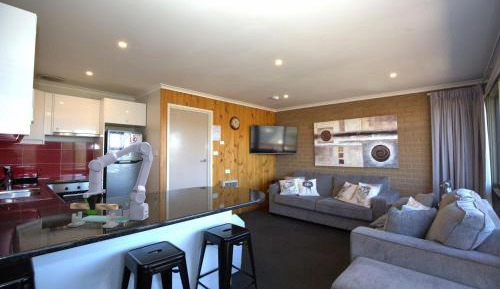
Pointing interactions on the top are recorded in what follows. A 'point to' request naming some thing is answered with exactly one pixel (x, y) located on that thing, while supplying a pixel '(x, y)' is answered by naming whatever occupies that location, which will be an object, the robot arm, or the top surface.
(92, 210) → the cup
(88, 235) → the top surface
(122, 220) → the mat
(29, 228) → the top surface
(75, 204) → the rail
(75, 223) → the hook stand
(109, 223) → the hook stand
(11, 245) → the top surface
